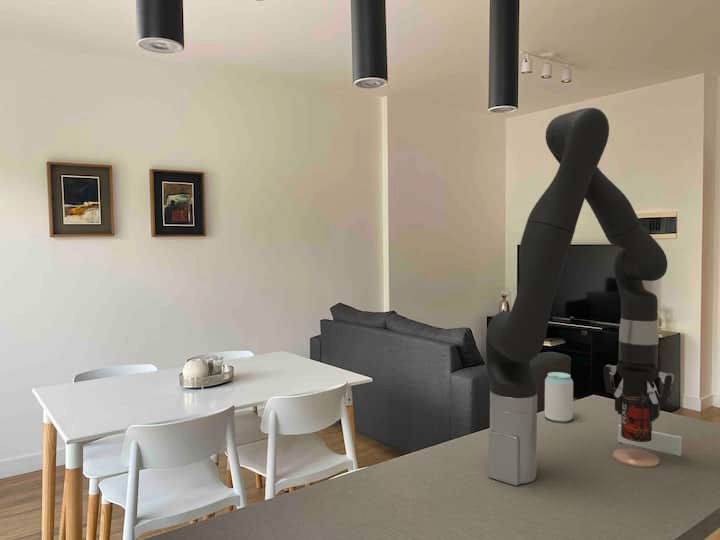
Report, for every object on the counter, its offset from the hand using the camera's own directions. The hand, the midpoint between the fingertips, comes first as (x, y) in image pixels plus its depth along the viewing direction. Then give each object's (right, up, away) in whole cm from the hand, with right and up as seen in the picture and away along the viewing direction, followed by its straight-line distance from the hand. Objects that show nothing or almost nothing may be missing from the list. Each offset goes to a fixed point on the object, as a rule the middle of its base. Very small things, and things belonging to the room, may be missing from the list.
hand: (636, 416), depth 119 cm
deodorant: (0, -5, 0) cm, 5 cm away
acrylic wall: (+6, -9, +7) cm, 13 cm away
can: (-7, -8, +27) cm, 29 cm away
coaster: (0, -9, +1) cm, 9 cm away
